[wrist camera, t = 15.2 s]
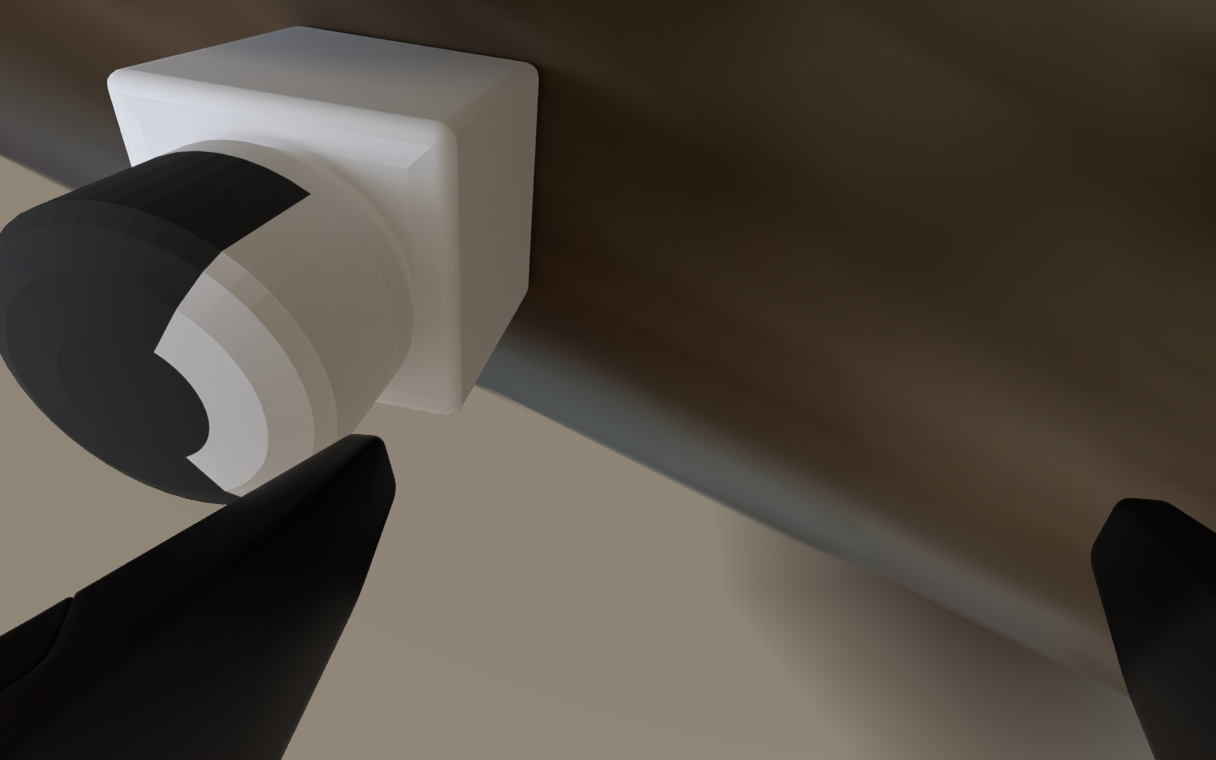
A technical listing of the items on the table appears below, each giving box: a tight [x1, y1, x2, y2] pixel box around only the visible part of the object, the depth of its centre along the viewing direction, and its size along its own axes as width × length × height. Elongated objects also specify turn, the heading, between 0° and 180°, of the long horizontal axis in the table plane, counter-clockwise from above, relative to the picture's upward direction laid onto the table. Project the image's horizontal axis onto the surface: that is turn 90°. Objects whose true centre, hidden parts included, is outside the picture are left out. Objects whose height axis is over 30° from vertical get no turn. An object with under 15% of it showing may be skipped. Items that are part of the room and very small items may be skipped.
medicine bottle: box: [0, 26, 539, 504], centre depth 16 cm, size 7×7×12 cm
